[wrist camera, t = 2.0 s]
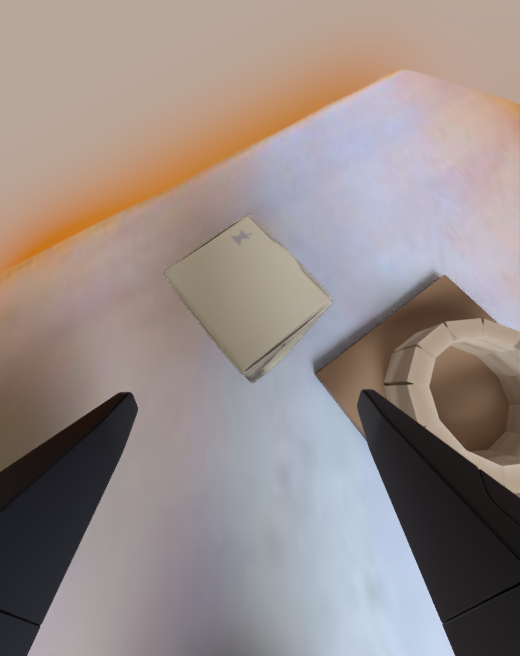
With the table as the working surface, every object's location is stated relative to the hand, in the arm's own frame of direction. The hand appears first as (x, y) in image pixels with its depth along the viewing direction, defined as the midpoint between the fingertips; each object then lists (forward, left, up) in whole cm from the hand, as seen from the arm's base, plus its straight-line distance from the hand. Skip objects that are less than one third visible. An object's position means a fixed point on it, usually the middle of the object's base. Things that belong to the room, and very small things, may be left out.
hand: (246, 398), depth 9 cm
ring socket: (-10, -13, -11) cm, 20 cm away
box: (+3, -2, -11) cm, 12 cm away
